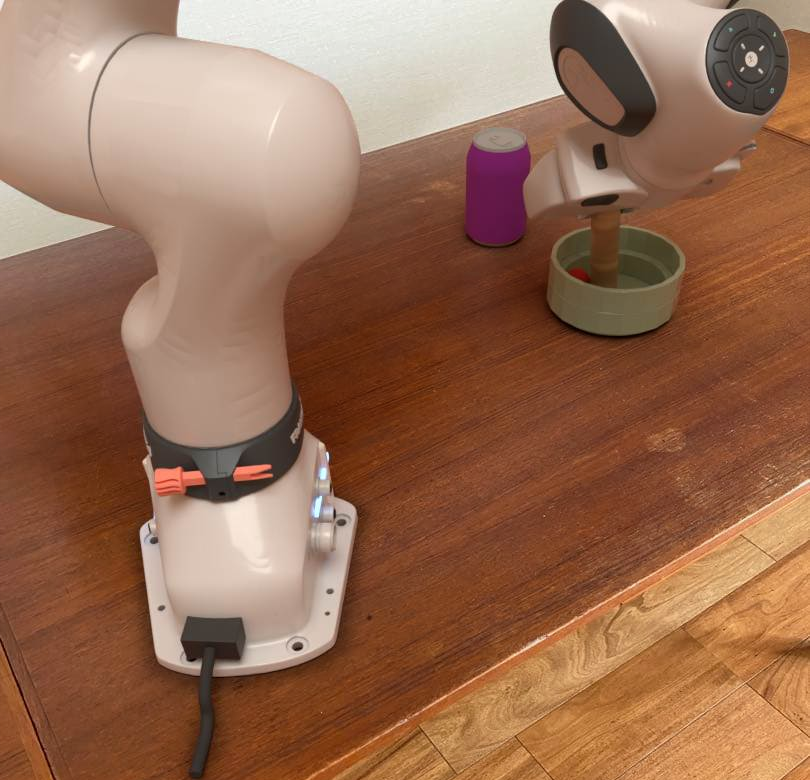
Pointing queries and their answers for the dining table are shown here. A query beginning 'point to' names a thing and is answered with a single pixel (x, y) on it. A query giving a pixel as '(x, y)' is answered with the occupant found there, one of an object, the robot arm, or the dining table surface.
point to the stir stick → (605, 248)
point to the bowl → (636, 283)
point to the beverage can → (496, 186)
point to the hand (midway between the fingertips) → (602, 209)
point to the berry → (580, 275)
